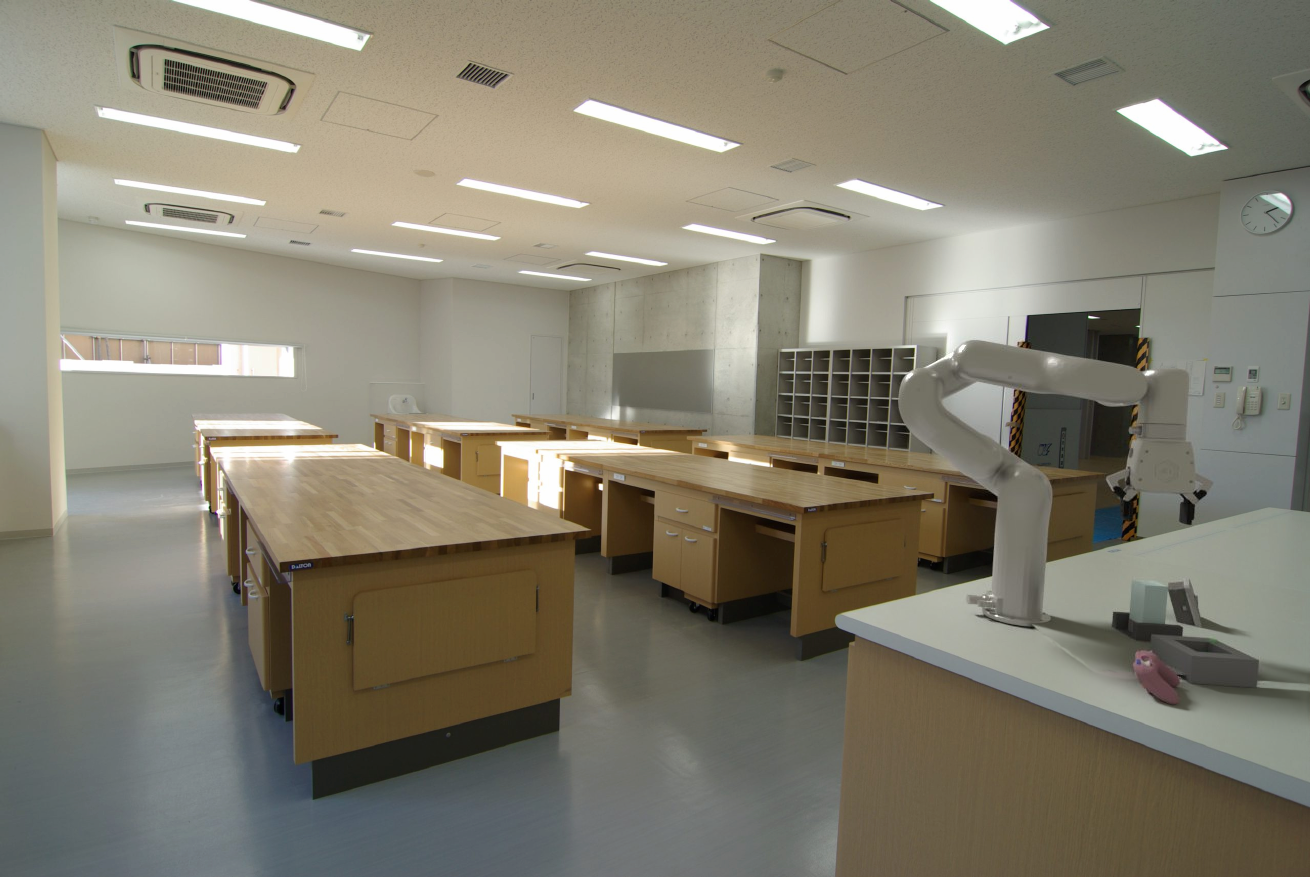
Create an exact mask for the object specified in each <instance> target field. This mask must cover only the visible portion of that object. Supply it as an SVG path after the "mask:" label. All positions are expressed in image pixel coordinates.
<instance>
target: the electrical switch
mask: <svg viewBox="0 0 1310 877" xmlns="http://www.w3.org/2000/svg"><path fill="white" fill-rule="evenodd" d="M1167 586H1168V594H1169V595H1168V596H1169V598H1170V602H1171V606H1172V609H1173V614H1174V617H1175V620H1176V623H1180V624H1184V625H1190V626H1194V627H1195V628H1202V627H1203V626H1202V625H1203V624H1202V617H1201V613H1200V609H1199V596H1198V595H1195V591H1194V588H1193V585H1192V582H1191V579H1190V578H1189V577H1183V581H1176V582H1175V581H1174V582H1168V584H1167Z"/></svg>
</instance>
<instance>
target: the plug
mask: <svg viewBox="0 0 1310 877" xmlns="http://www.w3.org/2000/svg"><path fill="white" fill-rule="evenodd" d="M1168 594H1169V592H1168V585H1164V584H1163V583H1160V582H1158V581H1155V580H1143V579H1132V580H1131V590H1130V602H1129V604H1130V605H1129V613H1130V614H1129V621H1128V630H1129V631H1130V632H1133V622H1139V623H1155V624H1166V616H1167V606H1168V605H1167V604H1168Z"/></svg>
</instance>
